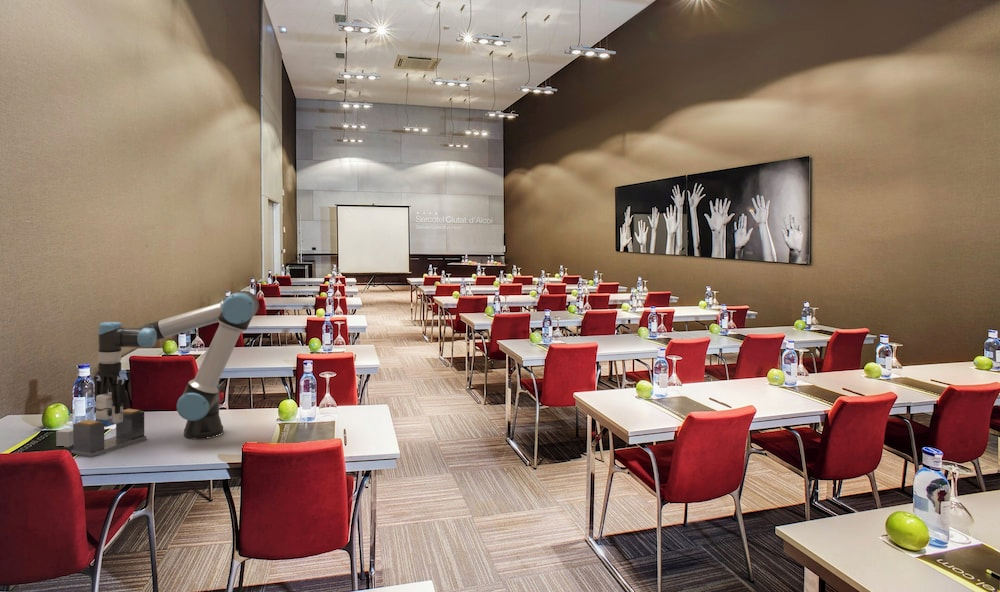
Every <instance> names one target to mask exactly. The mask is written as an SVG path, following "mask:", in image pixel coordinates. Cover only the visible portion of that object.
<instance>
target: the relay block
mask: <svg viewBox="0 0 1000 592" xmlns="http://www.w3.org/2000/svg"><path fill="white" fill-rule="evenodd" d="M55 432H56V435H55V436H56V437H55V438H56V439H55V440H56V441H55V442H56V446H64V447H63V448H71V447H73V446H72V445H73V427H65V428H62V429H60V430H56V431H55ZM56 446H55V447H56ZM70 446H71V447H70Z"/></svg>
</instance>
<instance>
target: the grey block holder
mask: <svg viewBox="0 0 1000 592" xmlns="http://www.w3.org/2000/svg"><path fill="white" fill-rule="evenodd" d="M72 428H73V446H72V447H73V449H71V454H72V453H74V454H73V455H75V454H77V455H76V456H81V457H88V458H94V457H97V456H100V455H103V454H106V453H109V452H112V451H115V450H118V449H121V448H125V447H127V446H131V445H133V444H137V443H139V442H142V441H145V440H147V435H145V411H144V410H141V409H135V408H134V409H133V408H126V409H123V422H120V423H117V424H115V435H116V436H113V437H109V438H106V439H105V427H104V422H100V421H96V420H94V419H84V420H81V421H78V422H76V423H73V425H72Z"/></svg>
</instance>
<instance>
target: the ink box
mask: <svg viewBox="0 0 1000 592" xmlns="http://www.w3.org/2000/svg"><path fill="white" fill-rule="evenodd" d="M112 405H114V404H113V399H112V394H111V391H110V392H108V393H106V394H102V395H97V396H96V401H95V421H100V422H104V428H108V427H110V426H114V425H116V424H117V423H120V422H123V410H124V404H121V405H120V413H119V421H117V422H114V423H112Z"/></svg>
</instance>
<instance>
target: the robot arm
mask: <svg viewBox="0 0 1000 592" xmlns="http://www.w3.org/2000/svg"><path fill="white" fill-rule="evenodd" d="M259 308H260V304H259V299H258V297H257V296H256V295H255V294H253V293H252V292H251V291H250V292H249V291H244V290H243V291H242V290H241V291H238V292H234V293H231V294H230V295H228V296H227V297H226V298H223V299H222V300H221V302H217V303H214V304H210V305H208V306H207V305H206V306H204V307H201V308H196V309H193V310H190V311H188V312H184V313H180V314H178V315H177V314H176V315H173V316H171V317H170V316H169V317H167V318H163V319H160V320H157V321H154V322H149V323H146V324H143V325H142V326H141V325H140V326H139V327H138V326H137V327H123V326H122V325H123V324H122V322H120V321H105V322H101V323H100V324H99V326H98V334H97V336H98V338H97V339H98V341H97V342H98V352H97V353H98V354H97V355H98V356H97V357H98V358H97V359H98V366H97V368H98V369H97V370H98V373H100V374H99V375H95V376H94V377H93V380H94V402H96V396H97V395H102V394H106V393H109V390H110V392H111V394H112V399H113V404H114V405H112V423H114V422H117V421H119V413H120V405H121V404H123V405H125V403H126V382H127V379H126V378H121V376H120V372H121V371H122V362H121V361H122V348H143V349H144V348H152V347H154V346H155V345H156V343H157V341H159V340H163V339H165V338H169V337H172V336H173V337H174V336H175V335H180V334H181V333H182V334H183V333H185V332H189V331H192V330H196V329H199V328H202V327H206V326H210V325H212V324H216V323H219V325H218V327H217V329H216V331H215V333H214V335H213V338H212V340H211V342H210V345H209V347H208V349H207V351H206V353H205V356H204V358H203V360H202V361H201V364H200V367H199V368H198V370H197V373H196V374H195V377H194V378H193V379H191V380H189V381H188V382H187V384H186V387H185V389H184V391H183V393H182V394H181V396H179V398H178V400H177V402H176V411H177V413H178V415H179V416H180V417H181V418H182V419H184V420H187V421H186V424H185V428H184V430H183V436H184V438H187V439H191V438H192V439H193V440H200V439H199V438H205V439H208V438H207V437H212V438H214V437H213V436H216V435H219V434H221V433H222V432H223V433H224V426H223V424H222V420H221V417H220V387H221V386H220V382H219V381H220V379H221V377H222V375H223V373H224V370H225V368H226V366H227V364H228V362H229V359H230V357H231V356H232V352H233V351H234V349H235V346H236V345H237V341H238V340H239V338H240V335H241V333H242V332H245V331H247V329H248V328H249V326H250V323H251V321H252V318H253V317H254V316H255V315H256V314H257V313H258V311H259ZM221 435H222V434H221ZM219 436H220V435H219ZM216 437H217V436H216Z"/></svg>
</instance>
